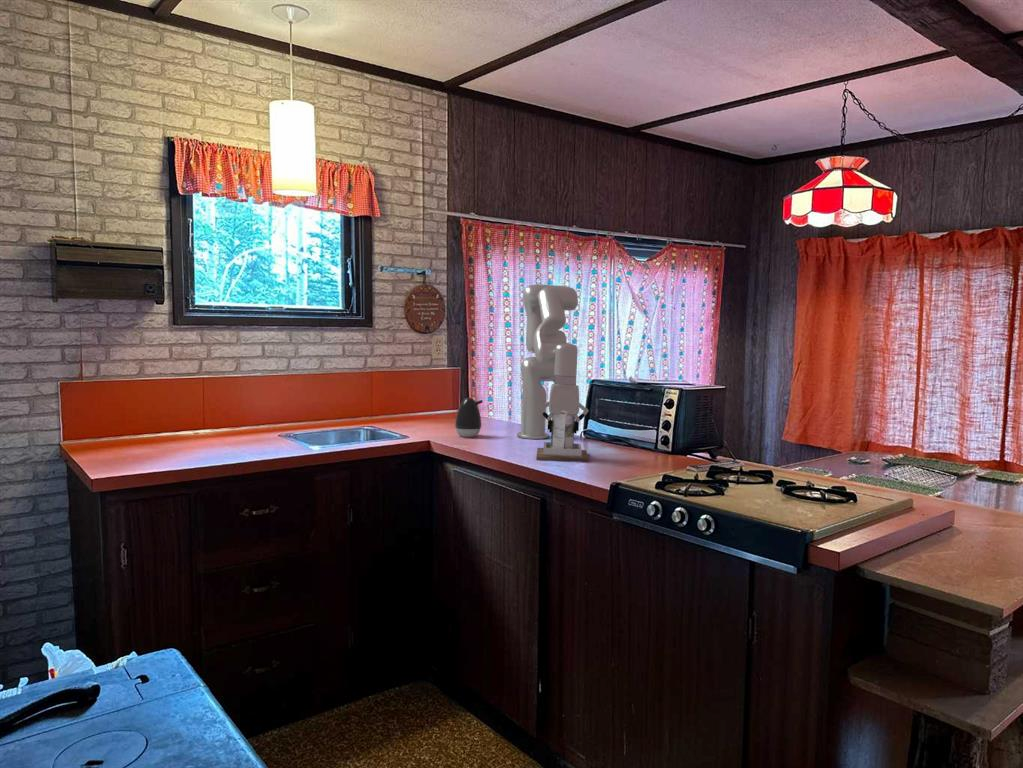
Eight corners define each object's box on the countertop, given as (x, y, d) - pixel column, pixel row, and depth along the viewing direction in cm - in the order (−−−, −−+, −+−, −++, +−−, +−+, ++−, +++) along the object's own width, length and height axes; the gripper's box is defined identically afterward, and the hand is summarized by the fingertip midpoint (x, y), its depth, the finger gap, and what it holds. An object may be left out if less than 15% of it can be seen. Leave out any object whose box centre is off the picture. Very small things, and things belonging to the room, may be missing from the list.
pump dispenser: (480, 439, 283) (482, 399, 281) (453, 437, 283) (454, 398, 281) (482, 435, 293) (483, 396, 291) (456, 434, 293) (457, 395, 292)
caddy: (537, 451, 260) (537, 440, 260) (586, 453, 259) (586, 442, 259) (536, 459, 243) (536, 448, 243) (588, 462, 242) (588, 451, 242)
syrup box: (559, 449, 255) (561, 407, 254) (573, 451, 251) (575, 409, 250) (549, 451, 251) (551, 408, 249) (564, 453, 247) (565, 410, 246)
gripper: (538, 380, 246) (536, 433, 247) (591, 382, 245) (589, 435, 246) (539, 379, 253) (537, 429, 255) (590, 381, 252) (588, 432, 254)
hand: (562, 432), depth 250 cm, fingers closed on syrup box, 7 cm apart
